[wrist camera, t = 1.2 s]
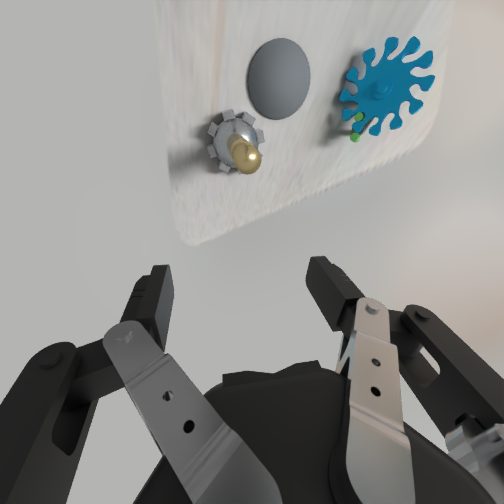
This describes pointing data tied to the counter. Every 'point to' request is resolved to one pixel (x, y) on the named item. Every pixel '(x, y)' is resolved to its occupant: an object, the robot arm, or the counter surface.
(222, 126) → the gear
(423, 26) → the counter surface
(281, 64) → the pad
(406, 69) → the blue splat disc
